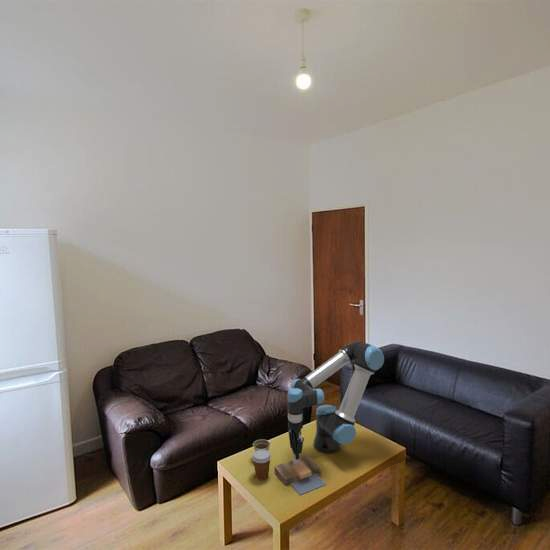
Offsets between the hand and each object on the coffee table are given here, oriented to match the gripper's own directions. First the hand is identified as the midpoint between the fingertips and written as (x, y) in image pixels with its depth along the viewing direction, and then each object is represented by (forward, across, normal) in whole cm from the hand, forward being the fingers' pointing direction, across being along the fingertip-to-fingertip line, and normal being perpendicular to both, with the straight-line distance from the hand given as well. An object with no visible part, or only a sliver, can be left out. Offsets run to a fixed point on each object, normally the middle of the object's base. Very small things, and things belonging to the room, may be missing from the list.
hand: (296, 463), depth 185 cm
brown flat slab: (+4, +1, 0) cm, 4 cm away
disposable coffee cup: (+5, -5, -17) cm, 18 cm away
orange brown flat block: (+1, +5, 0) cm, 5 cm away
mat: (+4, +11, 0) cm, 12 cm away
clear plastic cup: (+5, -18, -11) cm, 22 cm away
